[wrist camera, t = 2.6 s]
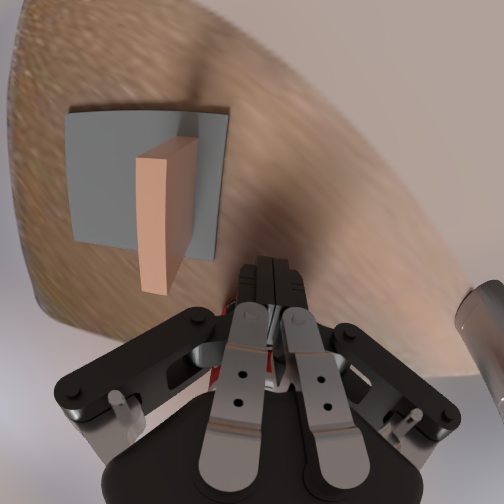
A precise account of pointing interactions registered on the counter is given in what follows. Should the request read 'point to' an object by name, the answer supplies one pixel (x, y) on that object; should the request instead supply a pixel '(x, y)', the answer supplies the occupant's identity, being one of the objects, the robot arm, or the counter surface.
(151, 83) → the counter surface
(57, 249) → the counter surface
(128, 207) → the mat
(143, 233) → the block
